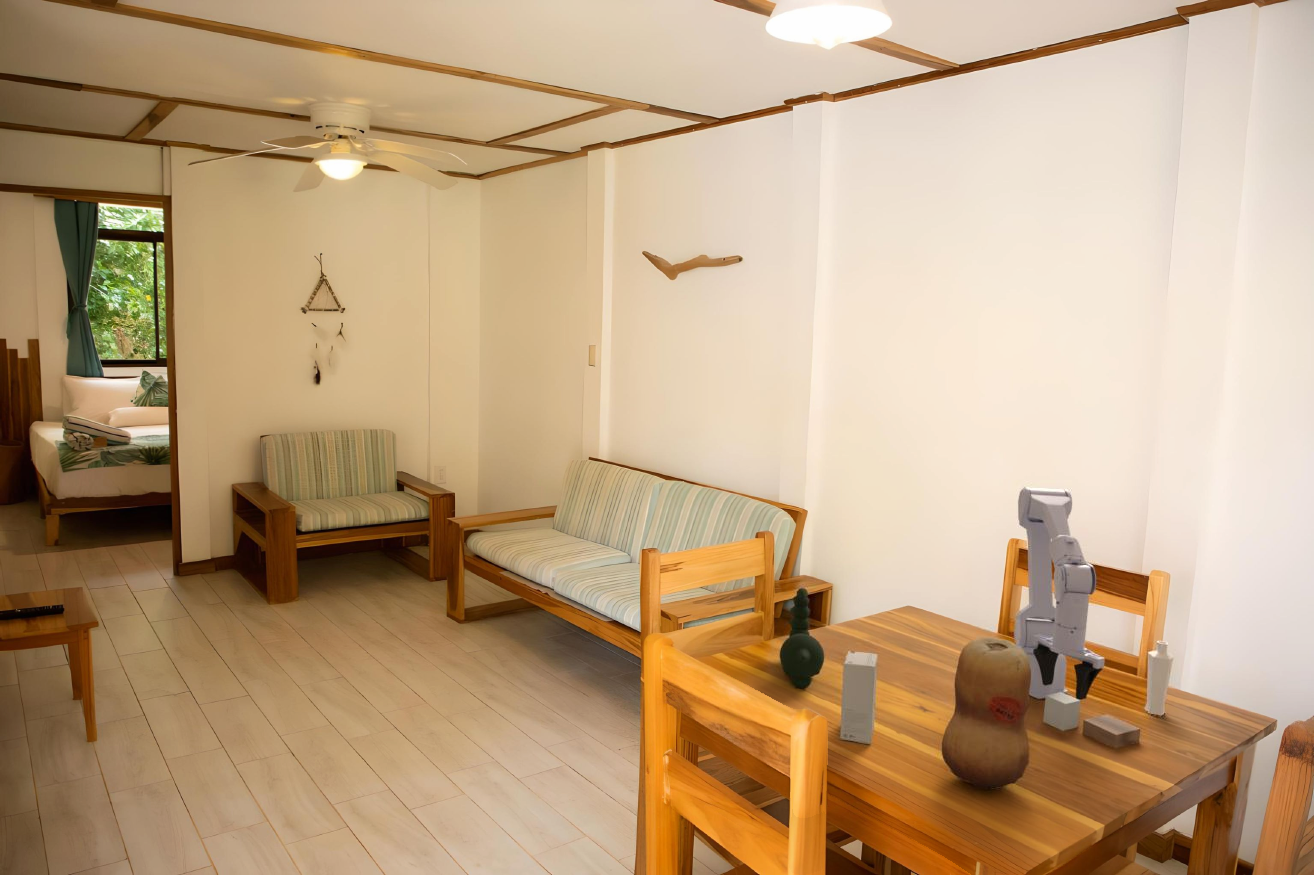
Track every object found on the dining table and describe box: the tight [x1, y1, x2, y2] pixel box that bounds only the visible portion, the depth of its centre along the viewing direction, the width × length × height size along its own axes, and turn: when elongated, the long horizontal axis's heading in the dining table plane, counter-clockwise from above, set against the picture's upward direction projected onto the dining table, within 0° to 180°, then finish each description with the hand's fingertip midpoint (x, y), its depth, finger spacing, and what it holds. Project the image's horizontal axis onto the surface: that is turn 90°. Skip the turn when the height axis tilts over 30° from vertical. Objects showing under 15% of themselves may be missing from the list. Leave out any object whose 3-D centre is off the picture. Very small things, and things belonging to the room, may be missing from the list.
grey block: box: [1042, 692, 1081, 732], centre depth 176 cm, size 4×4×6 cm
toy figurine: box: [779, 587, 825, 689], centre depth 195 cm, size 9×19×25 cm
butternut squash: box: [941, 636, 1031, 790], centre depth 149 cm, size 14×13×25 cm
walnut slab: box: [1081, 714, 1141, 749], centre depth 171 cm, size 7×7×3 cm
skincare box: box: [839, 650, 878, 745], centre depth 168 cm, size 8×6×15 cm
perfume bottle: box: [1144, 640, 1174, 715], centre depth 183 cm, size 5×4×15 cm
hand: (1063, 691), depth 175 cm, fingers open, 7 cm apart
